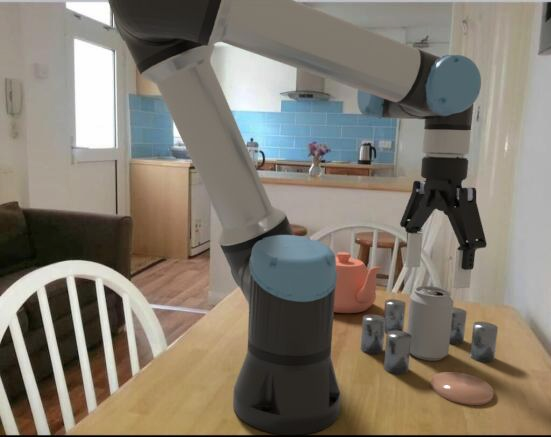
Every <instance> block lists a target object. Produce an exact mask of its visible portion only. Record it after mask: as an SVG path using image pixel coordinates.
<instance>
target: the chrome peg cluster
mask: <svg viewBox="0 0 551 437" xmlns="http://www.w3.org/2000/svg"><path fill="white" fill-rule="evenodd" d="M406 305H407V304H406V302H405V301H402V300H400V299H395V298H394V299H393V298H391V299H385V301H384V311H383V312H384V314H383V316H382V315H378V314H372V313H371V314H370V313H369V314H364V315H363V316H362V326H361V335H360V336H361V341H360V350H361V351H362V352H363V353H365V354H369V355H381V354H382V353H383V352H384V361H383V364H384V365H383V369H384V370H385V371H386V372H388V373H389V374H393V375H406V374H408V372H409V365H410V355H411V353H410V346H411V335H410V334H409V333H407V331H404V325H405V314H406ZM466 321H467V311H466V310H465V309H462V308H459V307H454V306H453V312H452V322H451V331H450V341H449V345H450V344H451V345H462V344H464V342H465V341H464V339H465V331H466ZM498 327H499V326H497V325H496V324H493V323H491V322H487V321H475V322H474V323H473V327H472V335H471V336H472V337H471V343H470V345H471V346H470V354H469V356H470V358H472V359H473V360H474V361H477V362H481V363H493V362H494V360H495V355H496V345H497V338H498V329H499V328H498ZM385 334H386V338H385ZM384 339H386V340H384ZM384 342H385V350H384Z"/></svg>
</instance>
